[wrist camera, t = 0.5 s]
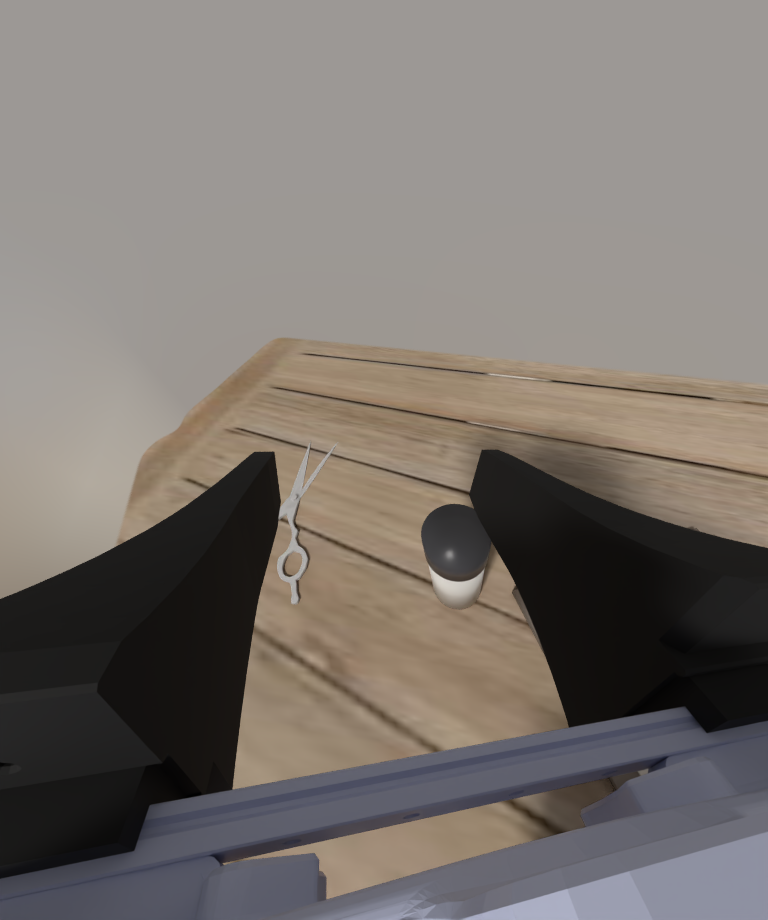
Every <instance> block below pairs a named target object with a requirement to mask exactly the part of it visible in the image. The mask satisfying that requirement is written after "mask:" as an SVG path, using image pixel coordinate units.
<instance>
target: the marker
mask: <svg viewBox="0 0 768 920" xmlns="http://www.w3.org/2000/svg"><path fill="white" fill-rule="evenodd" d="M421 537H422V543H423V547H424V552H425V556H426V560H427V562H428V564H429V569H430V573H431V578H432V583H433V588H434V592H435V594H436V596H437V598H438V599H439V600H440V601H441V602H442V603H443V604H444V605H446V606H447V607H449V608H452V609H459V610H460V609H466V608H468V607H470V606H472V605H473V604H474V603H475V602H476V601H477V599H478V597H479V595H480V590H481V585H482V580H483V574H484V569H485V566H486V564H487V561H488V557H489V552H490V547H491V539H490V538H489V536H488V534H487V533H486V531H485V529H484V527H483V526H482V524H481V522H480V520H479V518H478V516H477V514H476V511H475V510H474V509H473V508H470V507H468V506H465V505H460V504H449V505H444V506H441V507H439V508H437V509H435V510H434V511H432V512H431V513H430V514H429V515H428V516H427V518H426V519H425V521H424V523H423V526H422V531H421Z"/></svg>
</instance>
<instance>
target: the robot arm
mask: <svg viewBox="0 0 768 920" xmlns="http://www.w3.org/2000/svg"><path fill="white" fill-rule="evenodd" d="M469 496H470V498H471V501H472V504H473V506H474V509H475V511H476V514H477V516H478V518H479V520H480V522H481V524H482V526H483V527H484V529H485V531H486V533H487V534H488V536H489V538H490V539H491V541H492V543H493V545H494V546H495V548H496V550H497V551H498V553H499V555H500V557H501V558H502V560H503V562H504V563H505V565H506V567H507V569H508V570H509V572H510V574H511V576H512V578H513V580H514V582H515V584H516V586H517V589H518V591H519V593H520V595H521V597H522V600H523V602H524V604H525V606H526V609H527V611H528V613H529V616H530V618H531V621H532V623H533V626H534V628H535V630H536V633H537V635H538V638H539V640H540V643H541V646H542V649H543V651H544V654H545V657H546V659H547V662H548V665H549V667H550V670H551V673H552V676H553V679H554V682H555V685H556V688H557V691H558V694H559V697H560V700H561V703H562V706H563V709H564V712H565V715H566V718H567V722H568V725H569V728H565V729H559V730H554V731H548V732H543V733H538V734H532V735H527V736H521V737H516V738H511V739H505V740H500V741H494V742H489V743H483V744H478V745H473V746H467V747H462V748H456V749H451V750H445V751H440V752H435V753H429V754H424V755H418V756H413V757H407V758H402V759H397V760H391V761H386V762H380V763H375V764H370V765H364V766H359V767H353V768H348V769H342V770H337V771H332V772H326V773H321V774H315V775H310V776H304V777H299V778H294V779H288V780H283V781H277V782H272V783H267V784H261V785H256V786H250V787H245V788H239V789H234V790H232V788H233V779H234V769H235V761H236V752H237V744H238V736H239V727H240V719H241V711H242V704H243V696H244V689H245V682H246V674H247V667H248V661H249V654H250V647H251V641H252V634H253V628H254V622H255V616H256V610H257V604H258V599H259V595H260V590H261V587H262V583H263V579H264V576H265V572H266V568H267V565H268V561H269V557H270V554H271V550H272V546H273V542H274V539H275V535H276V531H277V527H278V520H279V512H280V504H281V499H280V492H279V484H278V476H277V469H276V461H275V453H274V452H254V453H252V454H251V455H250V456H249V457H247V458H246V459H245V460H244V461H243V462H241V463H240V464H239V465H238V466H237V467H236V468H234V469H233V470H232V471H231V472H230V473H228V474H227V475H226V476H225V477H224V478H222V479H221V480H220V481H219V482H217V483H216V484H215V485H214V486H212V487H211V488H210V489H208V490H207V491H205V492H204V493H203V494H201V495H200V496H199V497H197V498H196V499H195V500H193V501H192V502H191V503H189V504H188V505H186V506H185V507H183V508H182V509H180V510H179V511H177V512H176V513H174V514H173V515H171V516H170V517H168V518H166V519H165V520H163V521H161V522H160V523H158V524H156V525H155V526H153V527H151V528H150V529H148V530H146V531H145V532H143V533H141V534H139V535H137V536H135V537H133V538H131V539H129V540H128V541H126V542H124V543H122V544H120V545H118V546H116V547H114V548H113V549H111V550H109V551H107V552H105V553H103V554H101V555H99V556H97V557H95V558H93V559H91V560H89V561H87V562H85V563H82V564H80V565H78V566H76V567H74V568H72V569H70V570H67V571H65V572H63V573H61V574H58V575H56V576H54V577H52V578H50V579H47V580H45V581H43V582H40V583H38V584H36V585H34V586H31V587H29V588H26V589H24V590H22V591H19V592H17V593H14V594H12V595H9V596H7V597H4V598H2V599H0V920H768V548H765V547H760V546H756V545H751V544H747V543H742V542H738V541H733V540H729V539H725V538H721V537H717V536H714V535H710V534H706V533H703V532H699V531H695V530H691V529H688V528H684V527H681V526H678V525H674V524H671V523H668V522H664V521H661V520H658V519H655V518H652V517H649V516H646V515H643V514H640V513H637V512H634V511H632V510H629V509H626V508H623V507H621V506H618V505H616V504H613V503H611V502H608V501H606V500H603V499H601V498H598V497H596V496H593V495H591V494H589V493H586V492H584V491H582V490H580V489H578V488H576V487H574V486H571V485H569V484H567V483H565V482H563V481H561V480H559V479H557V478H555V477H553V476H551V475H549V474H547V473H545V472H543V471H541V470H539V469H537V468H535V467H533V466H531V465H529V464H527V463H526V462H524V461H522V460H520V459H518V458H516V457H513V456H511V455H509V454H507V453H505V452H502V451H500V450H482V451H481V455H480V458H479V462H478V465H477V469H476V472H475V476H474V479H473V483H472V487H471V490H470V494H469ZM645 769H648V774H645V775H642V776H639V777H636V778H633V779H630V780H628V781H626V782H625V783H624V784H623V785H622V786H621V787H620V788H619V789H618V790H616V791H614V792H613V793H611V794H610V795H608V796H606V797H605V798H603V799H601V800H599V801H597V802H595V803H593V804H591V805H589V806H587V807H585V808H583V809H581V815H580V816H581V818H582V820H583V822H584V824H585V827H584V828H580V829H576V830H572V831H568V832H564V833H560V834H557V835H553V836H549V837H545V838H542V839H538V840H534V841H530V842H527V843H523V844H519V845H515V846H512V847H508V848H504V849H501V850H497V851H494V852H490V853H487V854H483V855H480V856H476V857H472V858H469V859H465V860H462V861H458V862H455V863H451V864H448V865H444V866H441V867H437V868H434V869H430V870H427V871H423V872H420V873H417V874H413V875H410V876H406V877H403V878H399V879H396V880H392V881H389V882H386V883H382V884H379V885H375V886H372V887H368V888H365V889H361V890H358V891H355V892H351V893H348V894H344V895H341V896H337V897H334V898H330V899H327V900H326V876H325V875H324V873H323V872H321V871H319V859H318V858H317V856H316V855H315V853H310V854H301V855H291V856H282V857H272V858H262V859H253V860H246V861H239V862H235V863H231V864H227V865H223V864H222V863H225V862H230V861H234V860H239V859H243V858H248V857H252V856H257V855H261V854H266V853H271V852H275V851H280V850H284V849H289V848H293V847H298V846H302V845H307V844H311V843H316V842H320V841H325V840H329V839H334V838H338V837H343V836H347V835H352V834H356V833H361V832H365V831H370V830H374V829H379V828H383V827H388V826H392V825H397V824H401V823H406V822H411V821H415V820H420V819H424V818H429V817H433V816H438V815H442V814H447V813H451V812H456V811H460V810H465V809H469V808H474V807H478V806H483V805H487V804H492V803H496V802H501V801H505V800H510V799H514V798H519V797H523V796H528V795H532V794H537V793H542V792H546V791H551V790H555V789H560V788H564V787H569V786H573V785H578V784H582V783H587V782H591V781H596V780H600V779H605V778H609V777H614V776H618V775H623V774H627V773H632V772H636V771H641V770H645Z"/></svg>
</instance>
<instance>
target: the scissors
mask: <svg viewBox="0 0 768 920" xmlns="http://www.w3.org/2000/svg"><path fill="white" fill-rule="evenodd" d="M310 443H311V442H310ZM337 443H338V442H337ZM336 445H337V444H336ZM336 445H335V446H336ZM335 446H334V447H333V448H332V449H331V451H330V452H329V453H328V454H327V455H326V457H325V458H324V459H323V460H322V462H321V463H320V464H319V466H318V467H317V469H316V470H315V471H314V473H313V474H312V475H311V476H310V478H309V480H308V481H307V483H306V485H305V486H304V488H303V489H302V487H303V482H304V476H305V471H306V466H307V460H308V455H309V449H310V444H309V447H308V449H307V452H306V454H305V457H304V459H303V462H302V464H301V467H300V469H299V472H298V474H297V477H296V480H295V483H294V486H293V489H292V491H291V494H290V497H289V498H288V499H287V500H286V501H285V502H284V504H283V505H282V506H281V507H280V512H279V520H280V519H281V518H283V517H284V516H286V515H287V517H288V520H289V524H290V527H291V530H292V540H291V542H290V545H289V548H288V549H287V551H286V552H285V553H284V554H282V555H281V556H280V557H279V558H278V563H277V569H278V574H279V576H280V578H281V579H282V580H283V581H285V582H288V583H290V585H291V590H292V597H291V603H292V604H298V602H299V600H300V599H299V596H298V593H297V580H299V579H301V577H302V576H303V574H304V573H305V571H306V569H307V565H308V561H309V560H308V556H307V554H306V552H305V551H304V549H303V548H301V547H300V546H299V545H298V543H297V540H296V538H297V536H298V533H299V532H298V530H297V529H296V528H295V525H294V519H295V516H296V512H297V508H298V504H299V501H300V498H301V497H302V495H303V494H304V493H305V491H306V490H307V488H308V487H309V486H310V484H311V483H312V481H313V480H314V479H315V477H316V476H317V474H318V473H319V471H320V470H321V468H322V466H323V465H324V463H325V462H326V460H327V459H328V457H329V456H330V454H331V453H332V451H333V450H334V448H335ZM293 552H297V553H301V556H302V565H301V568H300V570H299V572H298V573H297V574H295V575H294V576H291V577H288V576H285V575H284V571H283V567H284V563H285V561H286V559H287V557H288V556H289V555H291V554H292V553H293Z"/></svg>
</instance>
